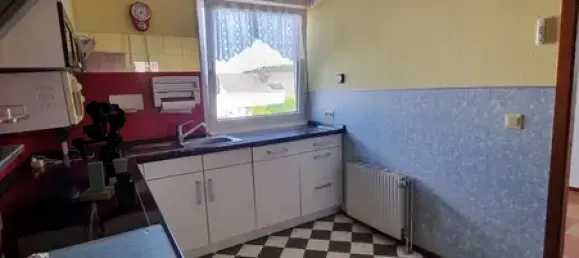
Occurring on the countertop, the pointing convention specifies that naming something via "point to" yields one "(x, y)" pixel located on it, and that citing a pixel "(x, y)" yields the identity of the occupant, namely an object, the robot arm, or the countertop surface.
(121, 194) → the supplement bottle
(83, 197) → the oak block
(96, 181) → the sage block
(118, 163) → the smoothie
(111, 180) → the grey tile block
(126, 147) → the countertop surface
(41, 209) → the countertop surface
